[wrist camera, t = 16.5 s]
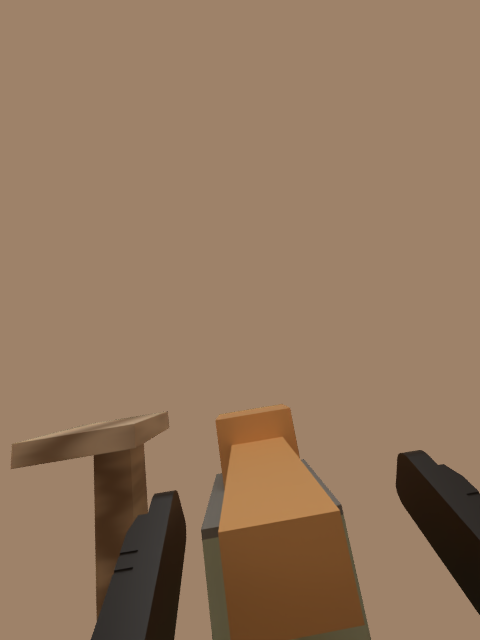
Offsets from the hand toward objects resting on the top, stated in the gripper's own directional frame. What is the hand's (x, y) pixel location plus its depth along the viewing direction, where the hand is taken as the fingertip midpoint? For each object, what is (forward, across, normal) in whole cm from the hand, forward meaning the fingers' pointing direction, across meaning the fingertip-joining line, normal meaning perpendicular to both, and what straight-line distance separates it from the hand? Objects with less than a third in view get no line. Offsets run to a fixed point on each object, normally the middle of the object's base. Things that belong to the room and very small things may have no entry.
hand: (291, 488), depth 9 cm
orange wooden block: (+4, -1, -7) cm, 8 cm away
